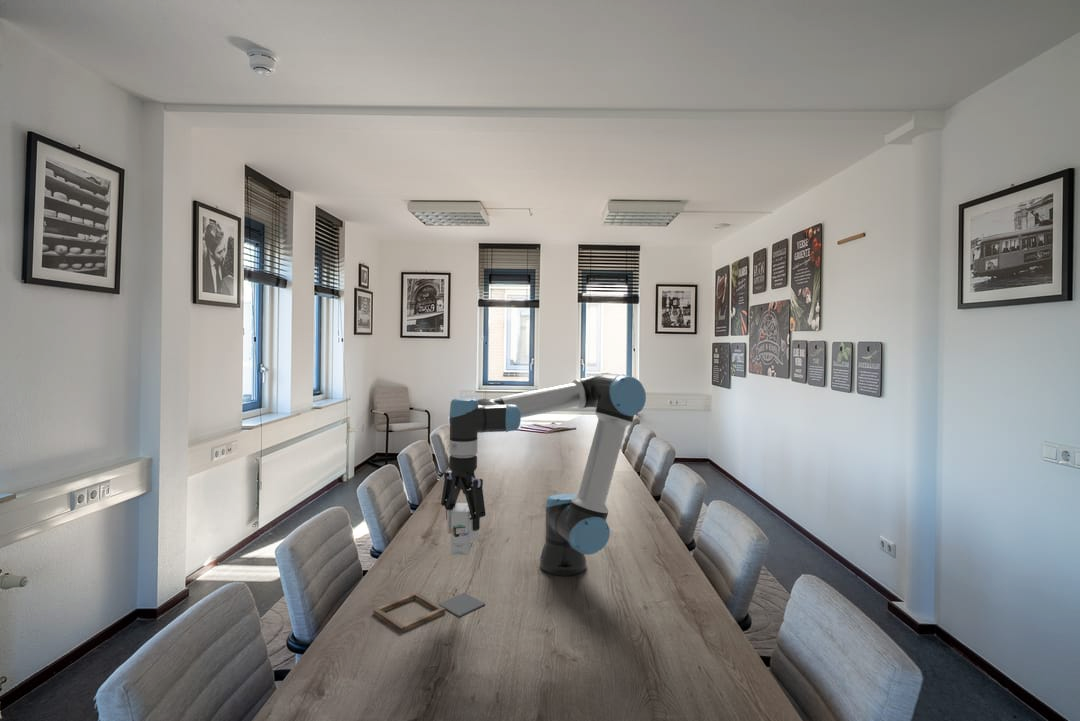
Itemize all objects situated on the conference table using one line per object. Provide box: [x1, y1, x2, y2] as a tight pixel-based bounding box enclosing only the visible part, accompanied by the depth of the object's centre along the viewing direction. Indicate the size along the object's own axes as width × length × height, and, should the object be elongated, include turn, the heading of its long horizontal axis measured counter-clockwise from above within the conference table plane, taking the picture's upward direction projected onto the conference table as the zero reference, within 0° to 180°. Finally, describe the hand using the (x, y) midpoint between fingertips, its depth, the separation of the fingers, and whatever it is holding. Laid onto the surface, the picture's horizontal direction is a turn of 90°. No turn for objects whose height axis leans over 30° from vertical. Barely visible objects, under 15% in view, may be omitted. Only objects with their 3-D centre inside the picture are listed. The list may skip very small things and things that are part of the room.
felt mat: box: [438, 592, 486, 618], centre depth 144 cm, size 9×9×1 cm
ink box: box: [450, 502, 474, 556], centre depth 143 cm, size 8×5×12 cm, turn 179°
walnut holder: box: [372, 591, 446, 634], centre depth 139 cm, size 13×13×1 cm
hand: (462, 536), depth 143 cm, fingers closed on ink box, 9 cm apart
